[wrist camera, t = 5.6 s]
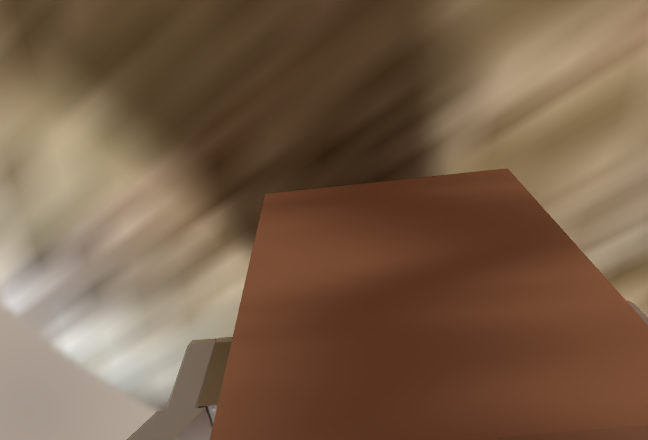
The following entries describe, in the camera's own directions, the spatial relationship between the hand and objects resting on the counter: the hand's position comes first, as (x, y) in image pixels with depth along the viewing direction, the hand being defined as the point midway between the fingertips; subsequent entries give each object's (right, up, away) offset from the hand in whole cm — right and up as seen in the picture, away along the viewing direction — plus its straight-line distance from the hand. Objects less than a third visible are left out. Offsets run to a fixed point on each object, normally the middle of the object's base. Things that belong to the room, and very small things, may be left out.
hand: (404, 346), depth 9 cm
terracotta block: (0, +1, +2) cm, 2 cm away
